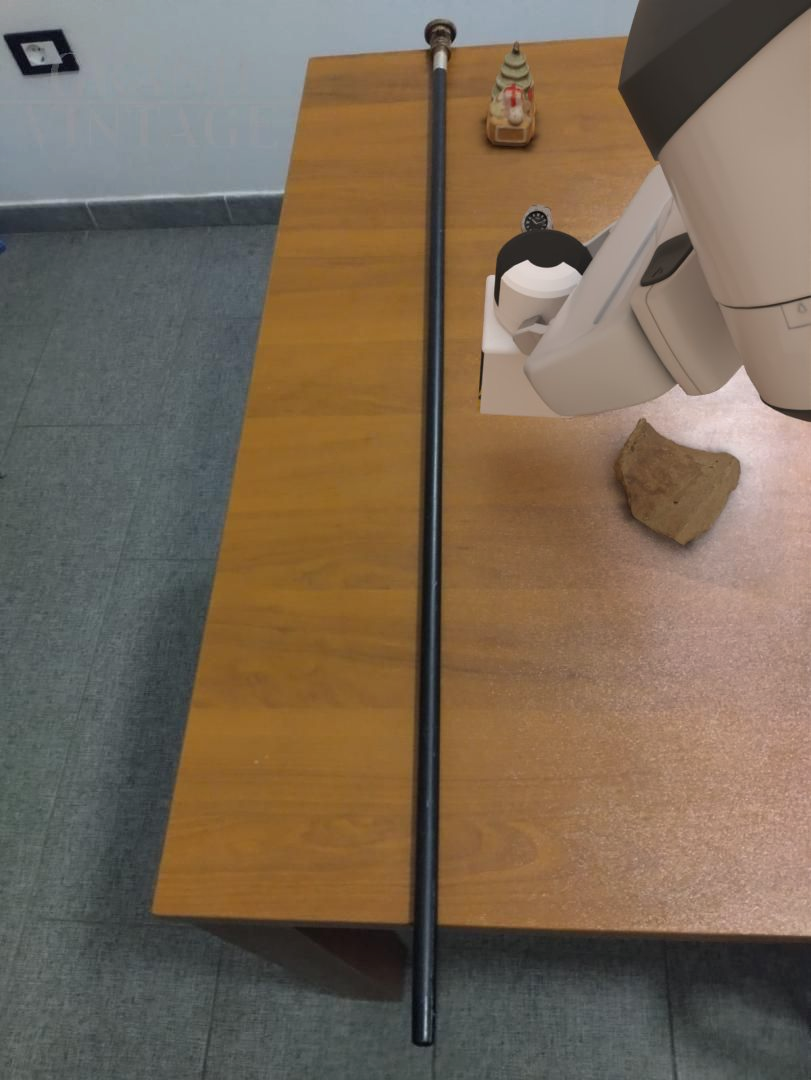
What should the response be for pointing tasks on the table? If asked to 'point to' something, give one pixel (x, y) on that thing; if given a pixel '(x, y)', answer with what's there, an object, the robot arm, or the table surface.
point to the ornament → (512, 103)
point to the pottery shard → (674, 483)
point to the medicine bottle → (523, 314)
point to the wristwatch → (537, 218)
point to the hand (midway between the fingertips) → (546, 302)
